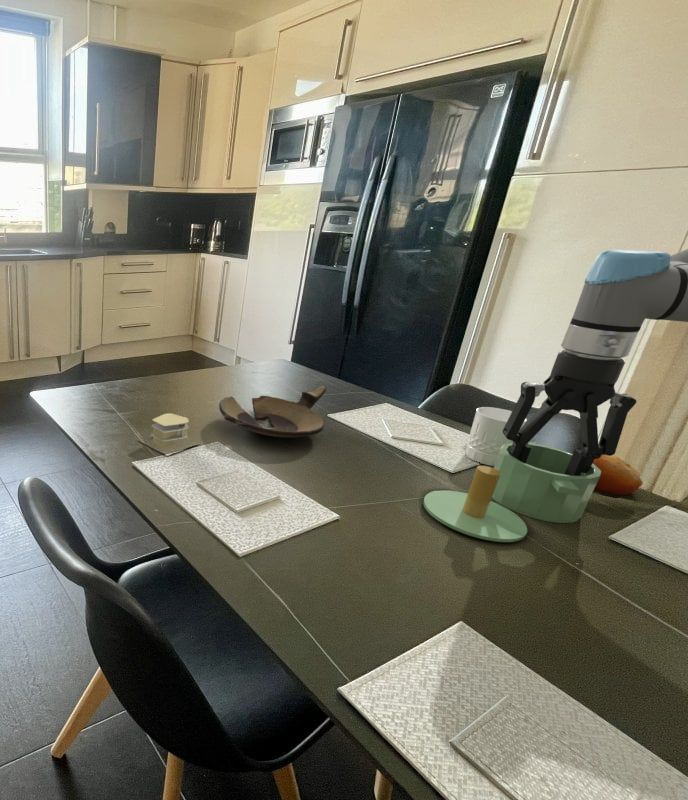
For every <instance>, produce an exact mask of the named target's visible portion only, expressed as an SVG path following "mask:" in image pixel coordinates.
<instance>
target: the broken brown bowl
mask: <svg viewBox="0 0 688 800" xmlns="http://www.w3.org/2000/svg"><path fill="white" fill-rule="evenodd" d="M327 389H328V388H327V387H326V386H325V385H322V386H319V387H318V388H316V389H314V390H312V391H302V392H301V397H300V398H299V400H298V402H295V401H291V400H286V399H283V398H279V397H273V396H269V395H260V396H259V397H252V398H251V403H252V409H253V413H254V417H253V416H251V415H250V414H249V413H248V412H247V411H246V409H244V408H243V407H242V406H241V404H240V403H238V401H237V400H236V398H234V397H233V396H228V397H224V398H223V399H221V400H220V401H219V403H218V404H219V405H218V409H219V412H220V414H221V415H222V416H223V419H224V420H225V421H228V422H230V423H233V424H235V425H236V426H237V427H240V428H243V429H245V430H248V431H250V432H252V433H255V434H258V435H262V436H267V437H273V438H301V437H305V436H306V437H307V436H312V435H313V436H314V435H317V434H319V433H320V432H323V430H324V428H325V421H324V418H323V417H322V416H321V415H320V414H319V413H317V412H316V411H314V410H313V409H312V408H313V407H314V406H315V405H316V404H317V402H318V401H319V400H320V399H321V398H322V397H323V396H324V394H325V393H326V391H327ZM265 420H269V423H270V424H271V425H272V427H271V428H266V427H263V426H264V425H265V423H264V424H260V423H259V422H258V421H265Z"/></svg>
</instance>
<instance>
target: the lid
mask: <svg viewBox="0 0 688 800" xmlns="http://www.w3.org/2000/svg"><path fill="white" fill-rule="evenodd" d="M500 475H501V473H500V472H499V471H498V470H496V469H494V467H492V466H488V465H478V466H477V467H476V469H475V472H474V475H473V476H472V477H473V478H472V481H471V483H470V486H469V489H468V492H463V491H462V492H461V491H456V490H434V491H430V492H429V493H427V494H426V495H425V496H424V498H423V502H422V503H423V507H424V510H426V512H427V513H428V514H429V515H430V516H431V517H432V518H434V519H435V520H437V521H438V522H439V523H441V524H443V525H444V526H446V527H448V528H450V529H452V530H454V531H457V532H459V533H461V534H464V535H467V536H469V537H473V538H477V539H479V540H485V541H488V542H489V541H490V542H496V543H515V542H519V541H521V540H523V539H524V538H526V536H527V534H528V527H527V524H526V523H525V522H524V520H523V519H522V518H521V517H520V516H519V515H517V514H516V512H514V511H513V510H511V509H508V508H506V507H505V506H503V505H501V504H499V503H498V502H496V501H495V502H494V501H492V496H493V493H494V491H495V488H496V485H497V483H498V480H499V477H500Z"/></svg>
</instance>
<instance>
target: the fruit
mask: <svg viewBox="0 0 688 800" xmlns="http://www.w3.org/2000/svg"><path fill="white" fill-rule="evenodd" d="M593 464H594V465H595V466H596V467H598V468H599V469H600V470H601V474H600V478H599V480H598V482H597V484H596V486H595V488H594V491H597V492H601V496H605V497H610V498H613V499H619V498H620V496H628V495H630V494H632V493H634V492H636V491H638V489H640V487H642V485H643V483H644V482H643V480H642V478H641V477H640V472H639V471H638V470H637V469H635V468H634V467H633V466H631V464H629V463H628V462H627V461H625V460H624V459H621V458H620V457H618V456H616V455H612V456H608V455H601V457H600V458H599V459H594V461H593ZM615 495H616V496H615Z"/></svg>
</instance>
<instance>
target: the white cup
mask: <svg viewBox="0 0 688 800" xmlns="http://www.w3.org/2000/svg"><path fill="white" fill-rule="evenodd" d="M512 411H513V410H509V409H504V408H499V407H491V406H481V407H478V408H476V410H475V414H474V417H473V421H472V424H471V428H470V432H469V433H470V434H469V436H468V443H467V445H466V450H465V453H466V454H465V455H466V457H467V456H468V457H469V458H468V457H467V458H468V459H470V458H471V459H470V460H472V461H474V460H475V461H474V462H476V461H477V462H476V463H479V462H480V463H479V464H482V465H484V466H488V467H494V466H495V463H496V460H497V458H498V455H499V452H500V449H501V447H502V446H503V444H508V443H512V442H513V441H512V440H508V439H507V438H506V437H505V435H504V434H503V433H502V431H503V429H504V427H505V425H506V423H507V421H508V419H509V417H510V415H511V413H512ZM527 421H528V418H526V419H525V420H524V422H523V424H522V426H521V428H522V427H523V426H524V424H525V423H526V422H527ZM521 428H520V429H521Z"/></svg>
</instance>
